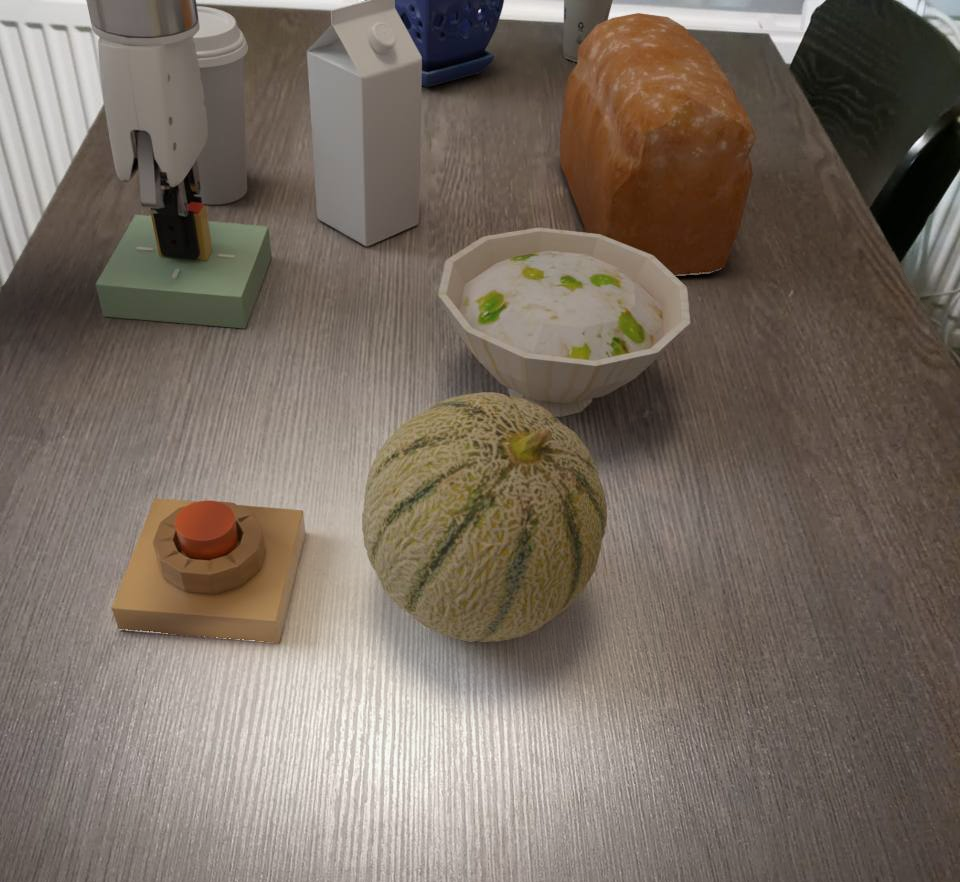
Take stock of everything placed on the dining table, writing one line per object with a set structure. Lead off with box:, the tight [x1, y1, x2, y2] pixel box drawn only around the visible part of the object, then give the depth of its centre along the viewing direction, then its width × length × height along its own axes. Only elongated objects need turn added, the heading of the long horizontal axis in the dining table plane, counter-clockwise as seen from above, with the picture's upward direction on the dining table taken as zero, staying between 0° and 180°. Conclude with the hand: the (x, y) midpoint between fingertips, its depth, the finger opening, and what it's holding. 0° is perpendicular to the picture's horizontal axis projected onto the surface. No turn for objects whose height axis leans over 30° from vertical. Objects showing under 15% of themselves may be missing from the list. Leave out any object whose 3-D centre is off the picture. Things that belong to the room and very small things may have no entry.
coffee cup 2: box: [562, 0, 614, 61], centre depth 123 cm, size 7×7×10 cm
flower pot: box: [364, 0, 505, 88], centre depth 116 cm, size 13×13×12 cm
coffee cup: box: [193, 5, 249, 206], centre depth 92 cm, size 10×10×15 cm
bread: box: [558, 12, 757, 275], centre depth 94 cm, size 14×26×16 cm, turn 7°
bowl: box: [437, 226, 691, 418], centre depth 76 cm, size 19×19×10 cm
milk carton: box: [306, 0, 423, 247], centre depth 88 cm, size 7×7×19 cm
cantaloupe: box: [361, 391, 608, 643], centre depth 58 cm, size 15×15×15 cm
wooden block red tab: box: [149, 202, 212, 260], centre depth 82 cm, size 4×2×4 cm, turn 86°
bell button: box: [175, 500, 238, 560], centre depth 60 cm, size 4×4×2 cm
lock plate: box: [95, 214, 272, 330], centre depth 85 cm, size 12×12×3 cm
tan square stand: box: [111, 497, 306, 644], centre depth 62 cm, size 10×10×4 cm
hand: (184, 247), depth 83 cm, fingers closed on wooden block red tab
